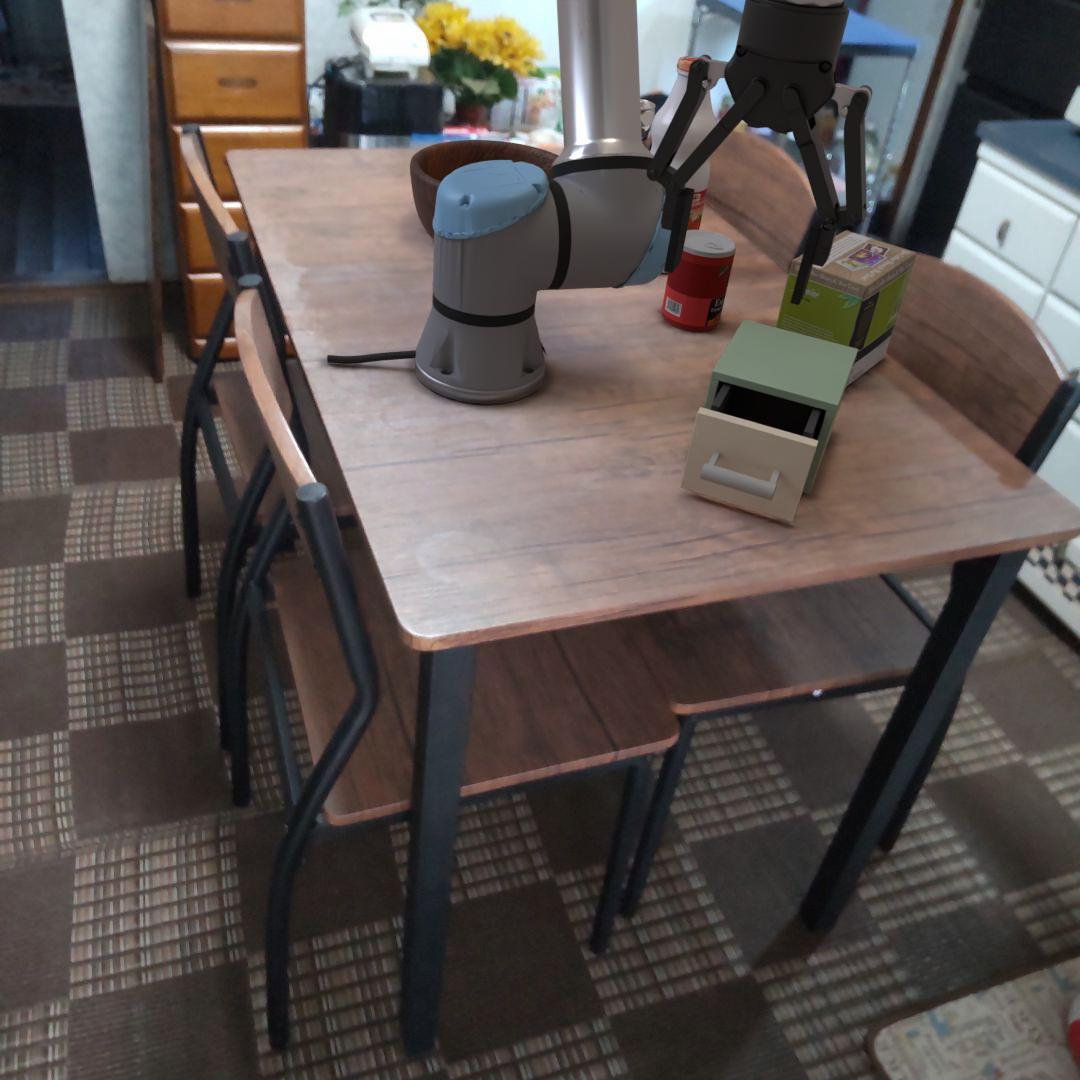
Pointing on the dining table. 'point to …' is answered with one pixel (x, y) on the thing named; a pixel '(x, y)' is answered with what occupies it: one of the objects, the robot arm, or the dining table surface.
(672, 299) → the canned food
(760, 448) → the cabinet drawer
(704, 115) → the fruit juice
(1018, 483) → the dining table surface
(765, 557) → the dining table surface
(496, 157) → the wooden bowl
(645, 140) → the silver metal tumbler
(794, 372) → the mini drawer cabinet
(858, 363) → the tea box
